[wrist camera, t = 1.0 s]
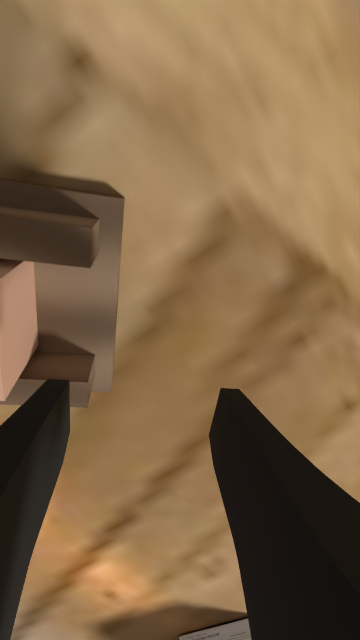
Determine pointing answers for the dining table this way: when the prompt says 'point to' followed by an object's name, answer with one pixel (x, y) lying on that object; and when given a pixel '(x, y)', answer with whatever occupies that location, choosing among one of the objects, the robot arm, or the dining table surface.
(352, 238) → the dining table surface
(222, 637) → the ink cartridge box
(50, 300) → the taupe railed channel
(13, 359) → the terracotta block
